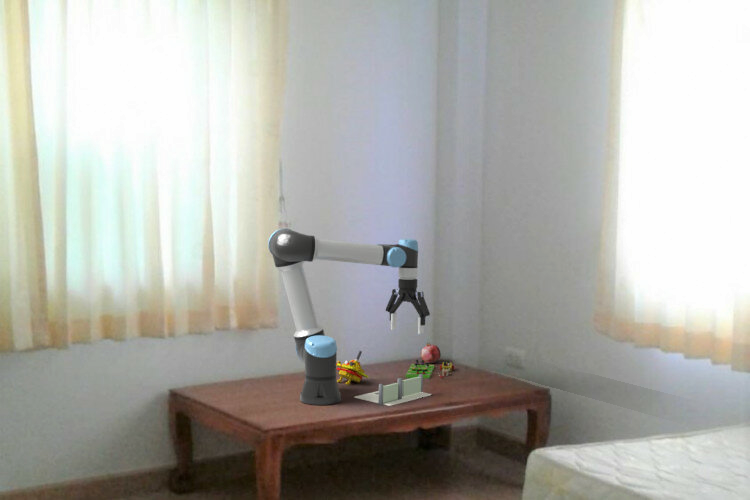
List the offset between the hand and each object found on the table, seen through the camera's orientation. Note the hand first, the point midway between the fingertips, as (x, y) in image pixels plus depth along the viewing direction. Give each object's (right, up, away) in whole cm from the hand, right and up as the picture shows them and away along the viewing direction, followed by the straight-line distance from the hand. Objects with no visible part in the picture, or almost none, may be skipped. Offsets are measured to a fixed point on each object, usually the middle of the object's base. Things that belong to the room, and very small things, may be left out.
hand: (407, 331), depth 361 cm
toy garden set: (+11, -21, +30) cm, 38 cm away
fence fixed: (-7, -24, -23) cm, 34 cm away
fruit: (+12, -19, +52) cm, 57 cm away
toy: (-22, -22, +9) cm, 33 cm away
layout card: (-6, -24, -14) cm, 28 cm away
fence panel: (+2, -23, -13) cm, 26 cm away
